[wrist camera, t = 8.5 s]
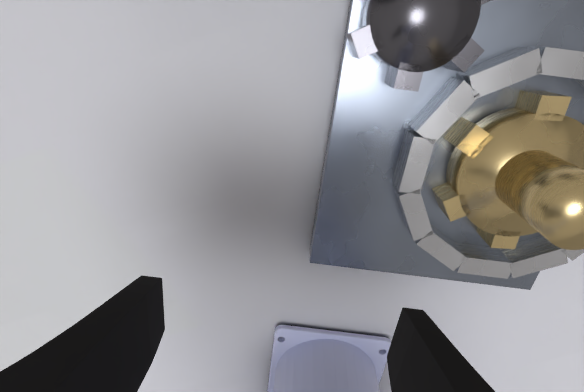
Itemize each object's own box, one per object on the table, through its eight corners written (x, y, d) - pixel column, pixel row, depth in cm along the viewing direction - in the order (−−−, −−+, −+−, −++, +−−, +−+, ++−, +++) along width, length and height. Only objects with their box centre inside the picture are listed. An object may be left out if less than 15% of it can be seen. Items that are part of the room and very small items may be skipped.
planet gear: (553, 236, 18) (637, 303, 14) (422, 228, 19) (461, 292, 14) (612, 94, 15) (747, 118, 11) (455, 86, 16) (519, 107, 11)
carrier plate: (542, 279, 21) (580, 318, 18) (308, 251, 21) (308, 284, 18) (702, -24, 14) (801, -40, 11) (359, -68, 14) (372, -96, 11)
